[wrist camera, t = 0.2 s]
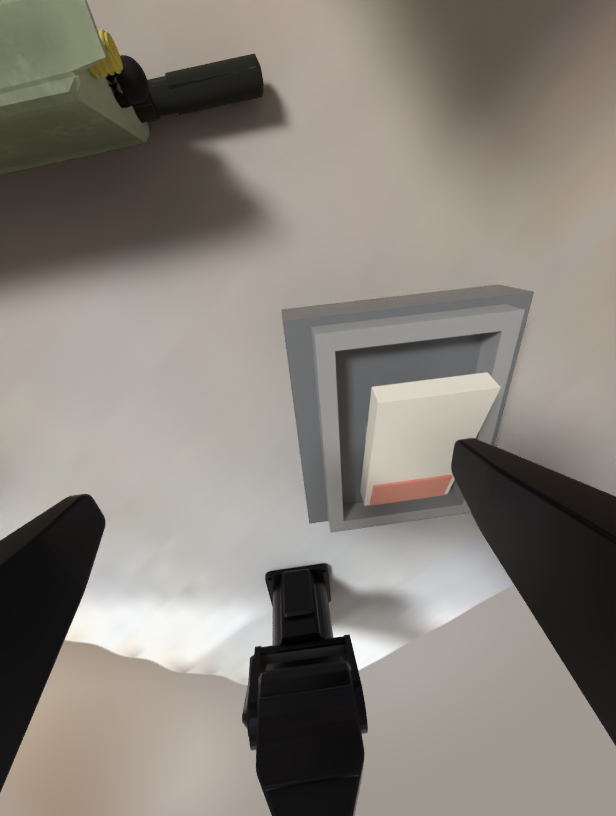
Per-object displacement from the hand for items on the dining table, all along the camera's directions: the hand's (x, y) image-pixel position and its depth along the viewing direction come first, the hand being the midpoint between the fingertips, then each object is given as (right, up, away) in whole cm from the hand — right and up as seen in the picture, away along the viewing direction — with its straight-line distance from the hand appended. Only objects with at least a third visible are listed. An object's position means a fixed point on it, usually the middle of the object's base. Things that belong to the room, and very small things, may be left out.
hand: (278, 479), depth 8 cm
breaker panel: (+7, +2, +16) cm, 17 cm away
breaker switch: (+7, -1, +11) cm, 13 cm away
